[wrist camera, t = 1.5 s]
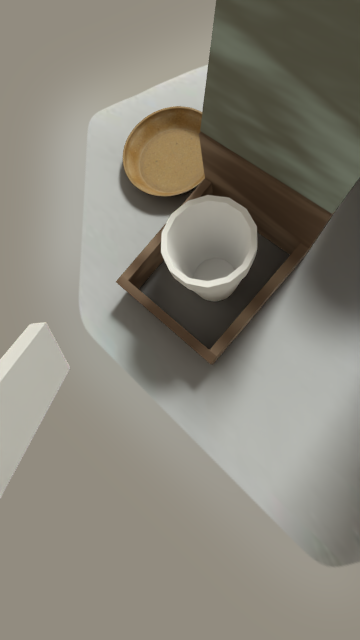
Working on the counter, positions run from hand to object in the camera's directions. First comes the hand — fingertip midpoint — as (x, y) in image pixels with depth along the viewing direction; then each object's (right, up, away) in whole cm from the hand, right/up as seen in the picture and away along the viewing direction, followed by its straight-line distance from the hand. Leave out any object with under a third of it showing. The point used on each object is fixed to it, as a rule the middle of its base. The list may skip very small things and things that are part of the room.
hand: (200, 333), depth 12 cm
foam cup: (+4, +6, +29) cm, 30 cm away
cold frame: (+5, +9, +29) cm, 31 cm away
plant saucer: (-2, +25, +33) cm, 42 cm away
